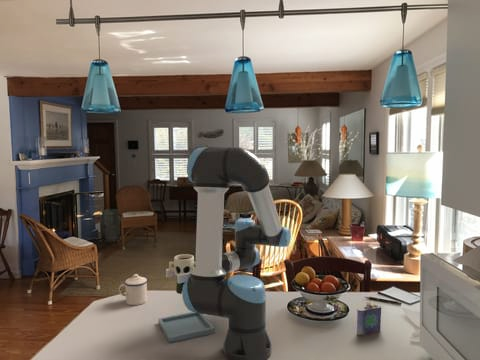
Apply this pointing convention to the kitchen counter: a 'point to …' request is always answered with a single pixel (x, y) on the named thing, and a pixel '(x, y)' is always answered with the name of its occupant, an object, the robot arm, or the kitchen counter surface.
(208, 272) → the robot arm
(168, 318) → the tray
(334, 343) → the kitchen counter surface
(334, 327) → the kitchen counter surface
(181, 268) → the character mug
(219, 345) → the kitchen counter surface
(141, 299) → the teacup with lid
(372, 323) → the flask
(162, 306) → the kitchen counter surface
